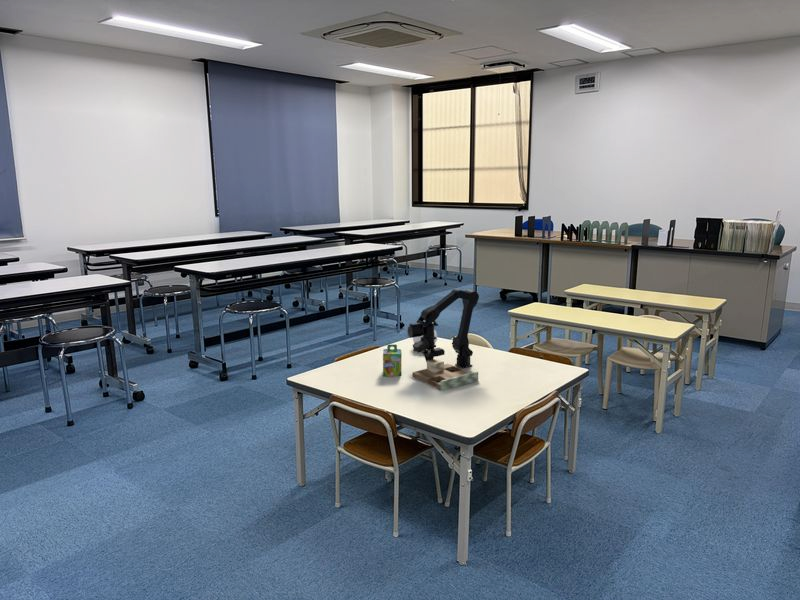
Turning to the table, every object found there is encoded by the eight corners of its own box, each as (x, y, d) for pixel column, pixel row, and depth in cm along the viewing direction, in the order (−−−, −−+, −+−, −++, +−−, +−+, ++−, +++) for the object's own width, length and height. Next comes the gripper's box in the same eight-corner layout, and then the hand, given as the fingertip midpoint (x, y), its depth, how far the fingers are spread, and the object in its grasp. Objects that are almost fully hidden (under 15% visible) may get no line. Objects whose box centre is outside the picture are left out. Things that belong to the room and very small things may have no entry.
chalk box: (383, 377, 280) (382, 348, 277) (383, 371, 289) (382, 342, 286) (401, 376, 280) (401, 347, 277) (401, 370, 289) (401, 342, 286)
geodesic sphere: (424, 332, 338) (416, 316, 328) (445, 335, 330) (437, 319, 320) (413, 352, 330) (404, 336, 321) (434, 356, 322) (426, 340, 313)
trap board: (447, 368, 291) (447, 359, 290) (478, 380, 273) (478, 371, 272) (412, 377, 279) (412, 368, 278) (442, 390, 261) (442, 381, 260)
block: (436, 367, 286) (436, 358, 285) (444, 370, 281) (444, 361, 280) (426, 369, 282) (426, 360, 281) (434, 372, 277) (434, 363, 276)
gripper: (404, 333, 286) (404, 363, 289) (426, 342, 270) (426, 373, 274) (422, 330, 292) (422, 359, 295) (445, 338, 276) (445, 368, 280)
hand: (428, 365), depth 286 cm, fingers closed
